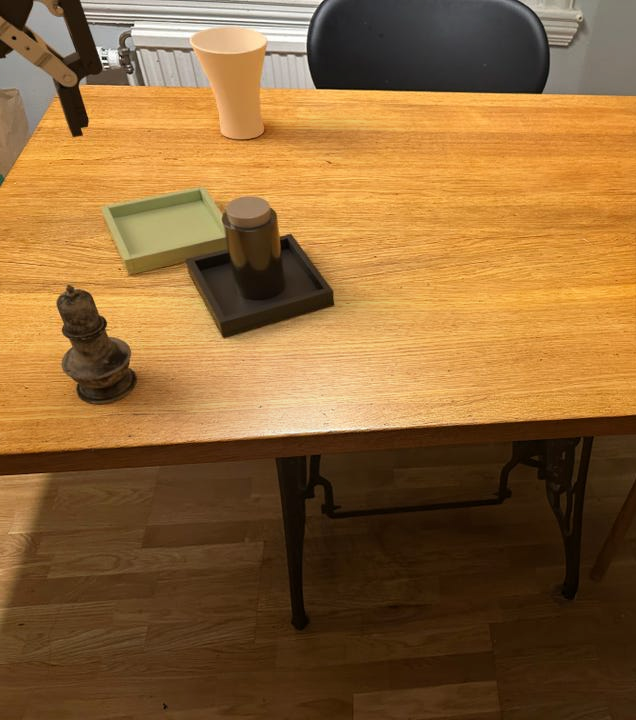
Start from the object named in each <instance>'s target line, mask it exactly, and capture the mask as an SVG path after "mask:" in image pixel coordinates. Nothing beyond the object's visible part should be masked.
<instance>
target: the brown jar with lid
mask: <svg viewBox="0 0 636 720" xmlns="http://www.w3.org/2000/svg"><path fill="white" fill-rule="evenodd" d="M222 214H223V216H222V224H223V229H224V235H225V240H226V245H227V251H228V256H229V261H230V267H231V272H232V277H233V283H234V288H235V291H236V292H237V293H238V294H239V295H240V296H242V297H244V298H246V299H251V300H264V299H269V298H272V297H274V296H276V295H278V294H279V293H281V292H282V290H283V289H284V287H285V276H284V268H283V260H282V252H281V244H280V236H281V235H280V228H279V221H278V214H277V212H276V210H274V208H272V207H271V205H270V203H269V202H268V200H266V199H264V198H262V197H259V196H254V195H250V196H249V195H247V196H240V197H236V198H233V199H232V200H230V201H228V203H227V204H226V206H225V211H224V212H223V213H222Z"/></svg>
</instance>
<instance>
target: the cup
mask: <svg viewBox="0 0 636 720" xmlns="http://www.w3.org/2000/svg"><path fill="white" fill-rule="evenodd" d="M189 44H190V46H191V48H192V50H193V52H194V54H195V55H196V58H197V59H198V62H199V63H200V65H201V68H202V70H203V72H204V74H205V76H206V78H207V80H208V83H209V84H210V88H211V90H212V93H213V96H214V99H215V104H216V107H217V112H218V117H219V130H220V133H221V135H222V136H224V137H226V138H229V139H233V140H249V139H254V138H257V137H260V136H261V135H262V134H263V133H264V132H265V127H264V122H263V118H262V113H261V112H262V111H261V98H260V97H261V79H262V74H263V68H264V63H265V57H266V52H267V46H268V38H267V37H266V35H264V33H262V32H259V31H258V30H254V29H251V28H245V27H239V26H238V27H237V26H219V27H211V28H206V29H202V30H199V31H197V32H195V33H193V34H192V35H191V37H190V38H189Z"/></svg>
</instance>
